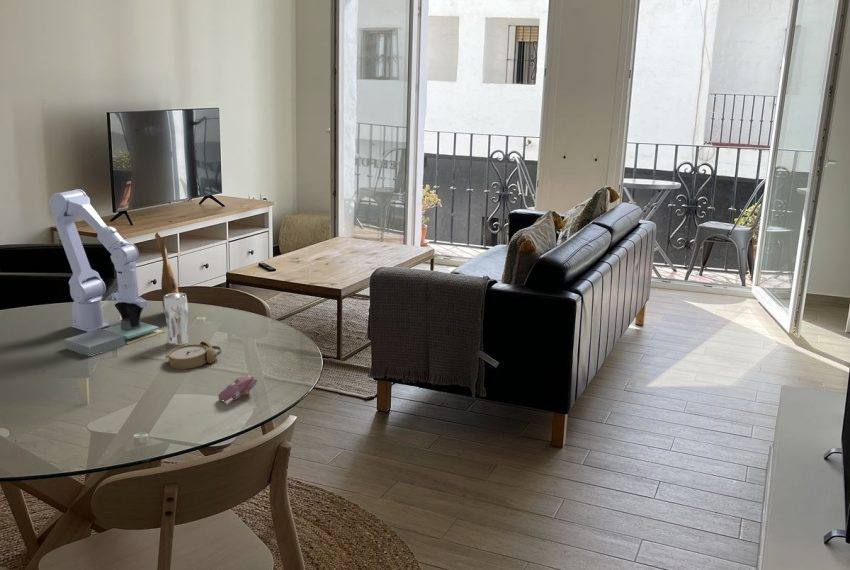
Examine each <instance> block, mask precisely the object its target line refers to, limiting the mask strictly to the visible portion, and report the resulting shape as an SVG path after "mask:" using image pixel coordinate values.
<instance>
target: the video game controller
mask: <svg viewBox="0 0 850 570" xmlns="http://www.w3.org/2000/svg"><path fill="white" fill-rule="evenodd" d="M257 383H258V379H257V378H255V377H254V376H251V375H250V374H247V375H246V376H245V375H244V376H243V375H242V376H239V377H236V379H235V380H234V381H232V382H230V384H228V385H227V386H226V387H225V388H224V390H222V391H221V392H219V394H218V395H217V397H218V401H220V400H224V402H227V401H229V400H231V399H232V400H234V399H236V398H238V397H239V398H241V396H242V397H245V396H247V395H248V394H249V392H250V391H251V390H252V389H253V388H254V387H255V386H256V385H257ZM246 394H247V395H246ZM244 395H245V396H244ZM239 398H238V399H239Z"/></svg>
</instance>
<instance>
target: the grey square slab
mask: <svg viewBox="0 0 850 570" xmlns="http://www.w3.org/2000/svg"><path fill="white" fill-rule="evenodd" d="M102 329H103V328H101V329H97V330H93V331H90V332H87V331H86V332H84V333H81V334H79V335H78V334H77V335H74V336H70V337H67V338H64V348H65V350H68V351H70V352H73V351H74V352H73V353H76V352H77V353H76V354H79V355H83V354H85V355H84V356H86V355H89V356H91V355H93V354H97V353H100V352H104V353H106V352H105V351H107V352H110V351H112V350H115V349H119V348H121V347H124V346H126V344H125V338H124V336H122V335H119V334H115V333H112V332H109V331H105V330H102ZM89 356H88V357H89Z"/></svg>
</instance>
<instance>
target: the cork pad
mask: <svg viewBox="0 0 850 570" xmlns="http://www.w3.org/2000/svg"><path fill="white" fill-rule="evenodd" d="M165 332H166V331H165V330H161V329H159V330H156V331H152V332H149V333H146V334H143V335H139V336H136V337H133V338H129V339H125V345H130V344H133V343H137V342H140V341H143V340H145V339H148V338H151V337H154V336H155V337H156V336H157V334H158V335H160V334H164V333H165Z"/></svg>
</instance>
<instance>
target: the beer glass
mask: <svg viewBox="0 0 850 570" xmlns="http://www.w3.org/2000/svg"><path fill="white" fill-rule="evenodd" d="M163 312H164V318H165V322H166V326H167V330H168V341H167V344H168V345H170V346H173V347H174V346H177V347H180V346H184V345H188V343H189V342H190V341H189V336H188V332H187V327H188V326H187V325H188V319H189V318H188V317H189V306H188V298H187V293H185V292H179V293H169V294H166V295H164V309H163Z"/></svg>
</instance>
